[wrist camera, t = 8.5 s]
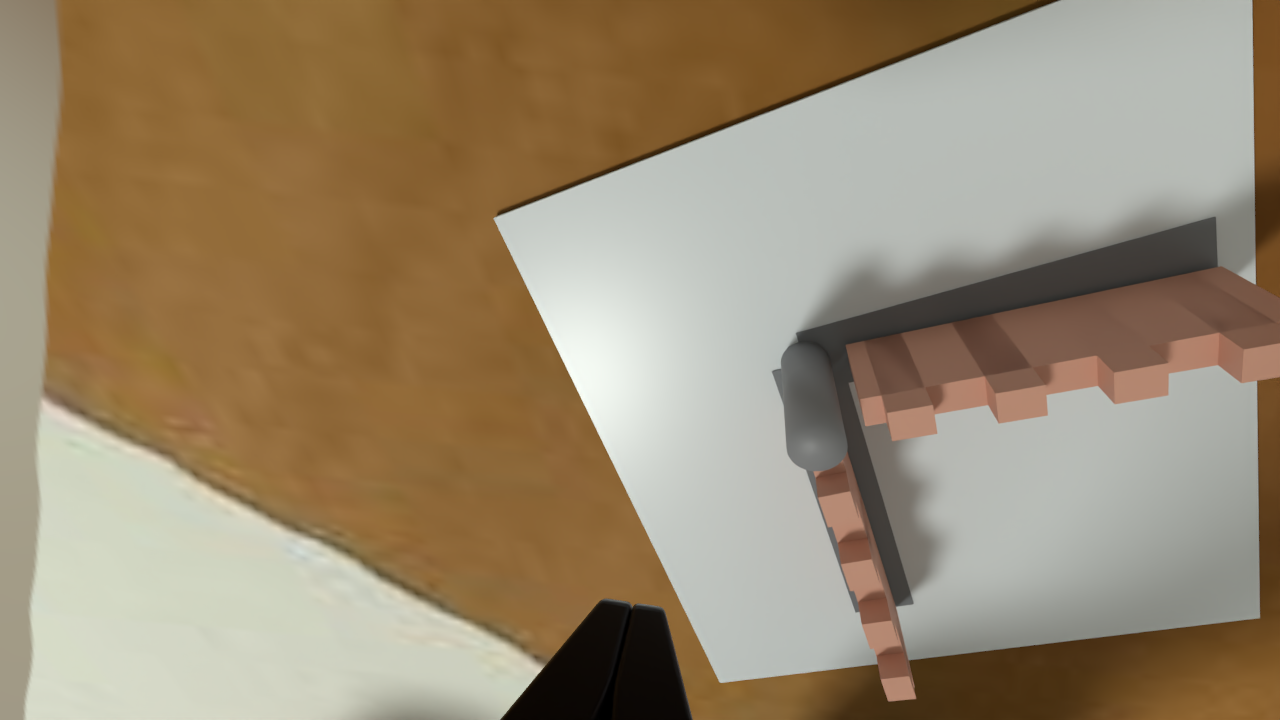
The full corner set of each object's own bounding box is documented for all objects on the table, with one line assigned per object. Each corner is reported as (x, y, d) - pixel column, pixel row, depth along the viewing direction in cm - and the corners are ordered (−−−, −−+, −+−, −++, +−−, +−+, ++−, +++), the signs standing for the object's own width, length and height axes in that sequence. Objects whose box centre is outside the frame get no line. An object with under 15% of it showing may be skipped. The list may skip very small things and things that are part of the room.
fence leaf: (850, 369, 19) (870, 445, 16) (845, 344, 19) (864, 416, 15) (1220, 295, 17) (1337, 367, 13) (1221, 266, 16) (1340, 332, 13)
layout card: (1255, 613, 21) (1260, 619, 21) (720, 678, 27) (719, 683, 26) (1245, -72, 14) (1252, -74, 13) (495, 216, 19) (493, 218, 19)
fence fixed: (903, 600, 23) (933, 720, 19) (863, 606, 24) (884, 724, 20) (822, 332, 19) (839, 416, 15) (774, 345, 19) (779, 430, 16)
